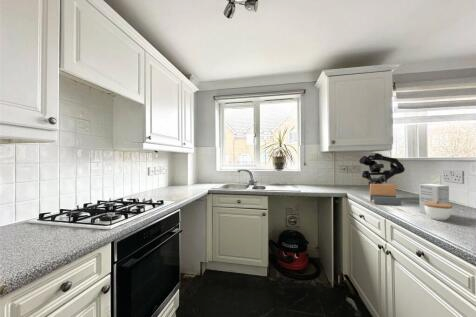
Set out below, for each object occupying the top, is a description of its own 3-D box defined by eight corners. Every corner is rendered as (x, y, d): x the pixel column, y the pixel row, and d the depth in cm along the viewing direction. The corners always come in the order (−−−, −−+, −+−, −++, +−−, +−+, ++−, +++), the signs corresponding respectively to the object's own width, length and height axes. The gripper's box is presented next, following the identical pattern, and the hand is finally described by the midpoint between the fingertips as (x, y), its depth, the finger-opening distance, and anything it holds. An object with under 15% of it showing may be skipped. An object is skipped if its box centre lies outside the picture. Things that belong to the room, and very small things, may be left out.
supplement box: (430, 211, 123) (430, 183, 123) (449, 215, 114) (449, 185, 114) (418, 212, 120) (418, 183, 120) (437, 216, 111) (437, 185, 111)
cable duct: (370, 201, 151) (370, 194, 151) (395, 202, 146) (395, 195, 146) (374, 203, 143) (374, 196, 143) (401, 205, 138) (401, 198, 138)
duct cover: (370, 194, 151) (369, 194, 152) (395, 195, 146) (394, 195, 147) (370, 183, 150) (369, 183, 152) (395, 184, 146) (395, 184, 147)
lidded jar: (443, 216, 112) (443, 199, 112) (458, 222, 101) (458, 203, 101) (419, 215, 114) (419, 198, 114) (431, 220, 104) (431, 202, 104)
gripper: (362, 160, 163) (367, 176, 152) (389, 159, 158) (397, 175, 148) (359, 169, 171) (364, 184, 160) (385, 169, 166) (392, 184, 155)
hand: (379, 182), depth 156 cm, fingers open, 9 cm apart
